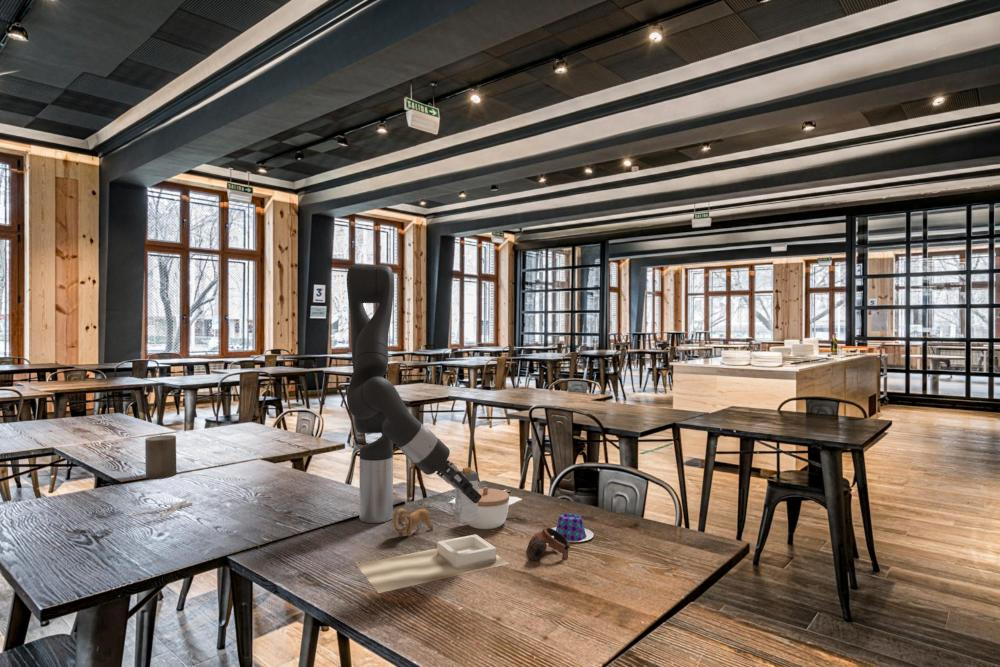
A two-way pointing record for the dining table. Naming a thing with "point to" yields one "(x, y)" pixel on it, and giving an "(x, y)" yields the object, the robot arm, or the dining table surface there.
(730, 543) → the dining table surface
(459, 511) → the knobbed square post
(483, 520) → the lidded bowl
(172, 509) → the pliers
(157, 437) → the pillar candle
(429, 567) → the board
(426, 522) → the lion figurine
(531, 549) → the pottery mug
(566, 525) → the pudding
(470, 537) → the box
